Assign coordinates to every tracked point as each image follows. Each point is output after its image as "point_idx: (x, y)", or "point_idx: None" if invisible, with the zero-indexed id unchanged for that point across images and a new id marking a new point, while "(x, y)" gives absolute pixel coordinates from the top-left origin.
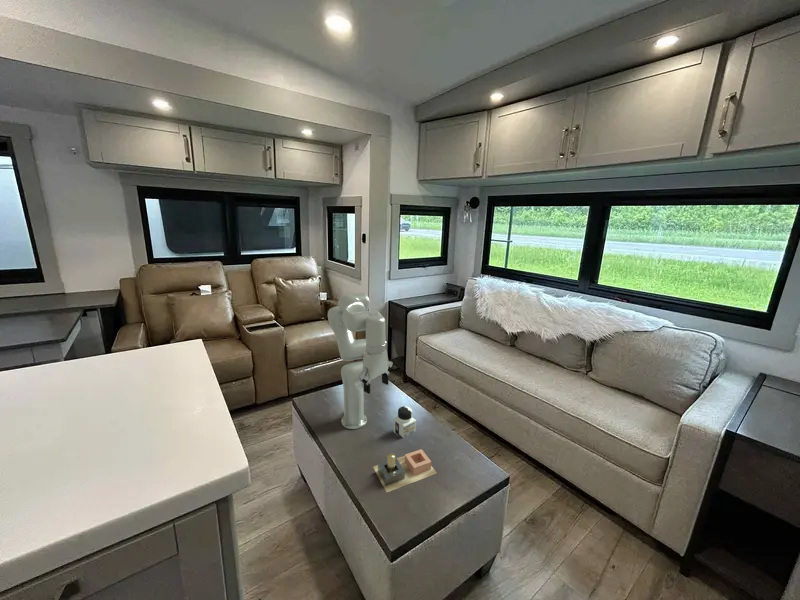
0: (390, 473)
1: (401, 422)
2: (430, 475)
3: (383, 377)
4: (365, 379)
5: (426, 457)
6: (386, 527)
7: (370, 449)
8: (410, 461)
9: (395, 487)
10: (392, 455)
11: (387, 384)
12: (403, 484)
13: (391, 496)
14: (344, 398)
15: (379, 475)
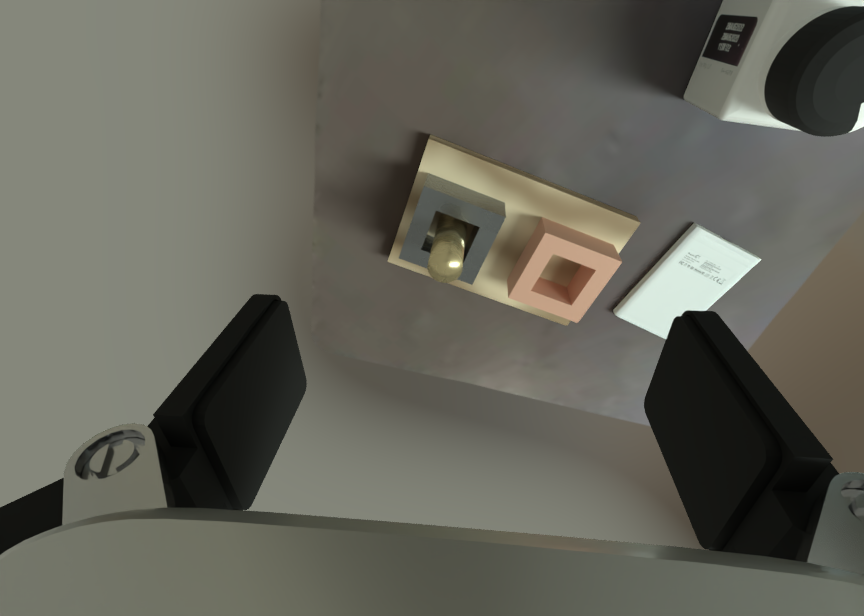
0: (426, 255)
1: (751, 81)
2: (544, 316)
3: (714, 432)
4: (144, 506)
5: (587, 300)
6: (328, 314)
7: (515, 12)
8: (527, 270)
9: (423, 268)
10: (449, 269)
11: (651, 413)
12: None
13: (400, 266)
14: None
15: (417, 194)
